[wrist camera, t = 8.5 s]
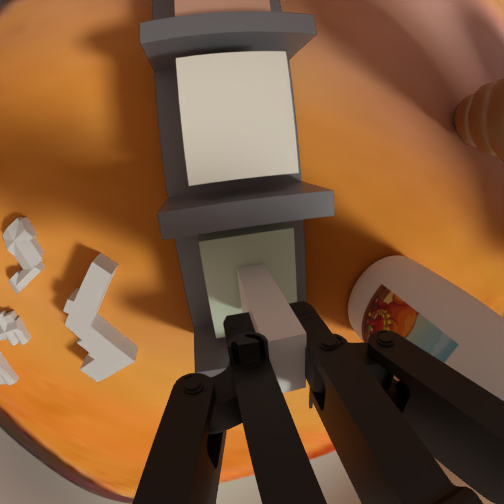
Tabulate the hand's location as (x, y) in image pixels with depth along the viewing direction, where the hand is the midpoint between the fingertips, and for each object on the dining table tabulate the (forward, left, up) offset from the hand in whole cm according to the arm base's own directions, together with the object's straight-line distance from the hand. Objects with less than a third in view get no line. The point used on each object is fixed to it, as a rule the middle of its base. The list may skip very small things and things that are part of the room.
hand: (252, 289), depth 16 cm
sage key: (0, 0, -3) cm, 3 cm away
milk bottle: (-12, +5, -4) cm, 13 cm away
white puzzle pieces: (+20, -1, -5) cm, 20 cm away
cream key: (0, -9, -1) cm, 9 cm away
